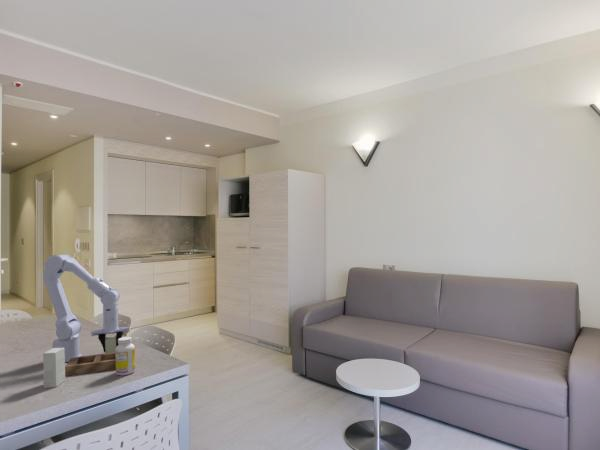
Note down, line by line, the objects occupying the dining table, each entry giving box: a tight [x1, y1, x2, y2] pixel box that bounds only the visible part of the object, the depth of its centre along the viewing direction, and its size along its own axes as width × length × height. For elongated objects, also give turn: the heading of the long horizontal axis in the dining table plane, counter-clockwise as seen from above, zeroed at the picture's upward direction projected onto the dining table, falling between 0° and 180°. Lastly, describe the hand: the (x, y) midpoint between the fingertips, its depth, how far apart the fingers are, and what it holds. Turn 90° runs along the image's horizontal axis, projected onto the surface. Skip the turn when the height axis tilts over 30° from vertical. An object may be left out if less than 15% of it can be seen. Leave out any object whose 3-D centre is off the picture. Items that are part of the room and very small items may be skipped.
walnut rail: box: [65, 352, 116, 377], centre depth 150 cm, size 20×11×3 cm, turn 112°
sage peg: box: [104, 335, 116, 354], centre depth 162 cm, size 4×4×8 cm
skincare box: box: [42, 347, 66, 389], centre depth 133 cm, size 6×4×12 cm
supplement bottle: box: [115, 336, 136, 376], centre depth 143 cm, size 7×7×13 cm
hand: (111, 350), depth 162 cm, fingers closed on sage peg, 4 cm apart
